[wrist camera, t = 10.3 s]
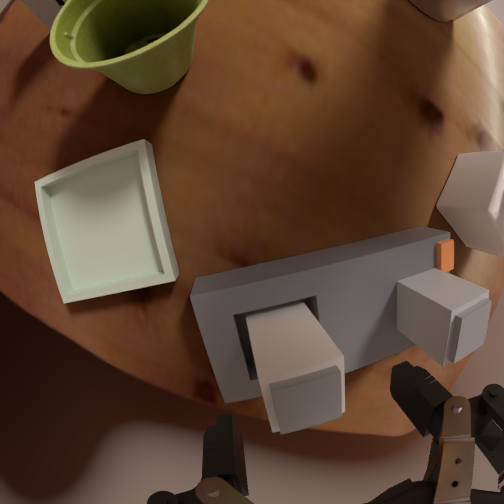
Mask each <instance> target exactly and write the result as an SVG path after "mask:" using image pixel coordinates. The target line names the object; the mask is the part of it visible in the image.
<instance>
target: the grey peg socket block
mask: <svg viewBox="0 0 504 504" xmlns="http://www.w3.org/2000/svg"><path fill="white" fill-rule="evenodd" d="M452 269H454V240H452V239H450V232H448V231H443V230H438V229H433V228H428V227H423V226H419V227H415V228H411V229H407V230H403V231H399V232H395V233H391V234H386V235H382V236H378V237H374V238H370V239H365V240H361V241H357V242H353V243H348V244H344V245H340V246H336V247H331V248H327V249H323V250H318V251H314V252H309V253H305V254H301V255H296V256H292V257H287V258H283V259H279V260H274V261H270V262H265V263H261V264H256V265H252V266H247V267H242V268H238V269H233V270H229V271H224V272H219V273H215V274H210V275H206V276H201V277H196V278H195V281H194V284H193V288H192V291H191V294H190V299H191V302H192V306H193V309H194V312H195V316H196V319H197V322H198V326H199V329H200V332H201V335H202V338H203V342H204V345H205V348H206V351H207V354H208V357H209V360H210V363H211V366H212V369H213V372H214V374H215V377H216V380H217V383H218V386H219V389H220V391H221V394H222V397H223V399H224V402H225V404H226V403H232V402H237V401H243V400H248V399H253V398H258V397H262V396H263V395H262V391H261V387H260V384H259V380H258V375H257V370H256V365H255V361H254V356H253V351H252V346H251V341H250V336H249V331H248V326H247V321H246V316H245V312H249V311H254V310H258V309H263V308H267V307H271V306H275V305H280V304H284V303H288V302H292V301H296V300H300V299H301V300H302V301H303V302H304V304H305V305H306V306H307V307H308V309H309V310H310V311H311V313H312V314H313V315H314V317H315V318H316V319H317V321H318V322H319V323H320V325H321V326H322V327H323V329H324V330H325V331H326V333H327V334H328V335H329V337H330V338H331V339H332V341H333V342H334V343H335V345H336V346H337V347H338V349H339V350H340V351H341V353H342V354H343V355H344V373H348V372H350V371H353V370H356V369H359V368H362V367H364V366H367V365H370V364H372V363H375V362H377V361H380V360H382V359H385V358H387V357H389V356H392V355H394V354H397V353H399V352H401V351H403V350H406V349H408V348H410V347H412V346H414V345H417V346H419V347H420V348H421V349H422V350H423V351H425V352H426V353H427V354H428V355H429V356H431V357H432V358H433V359H434V360H435V361H437V362H438V363H439V364H440V365H441V366H445V365H447V364H448V363H450V362H452V363H456V362H457V361H459V360H460V359H462V358H464V357H465V356H467V355H468V354H470V353H471V352H473V351H474V350H475V349H477V348H478V347H480V346H481V345H483V344H484V340H485V336H486V331H487V326H488V321H489V315H490V309H491V303H492V301H491V300H489V299H488V297H489V290H488V289H486V288H483V287H481V286H478V285H476V284H474V283H471V282H469V281H466V280H464V279H462V278H459V277H457V276H454V275H452V274H450V271H451V270H452Z"/></svg>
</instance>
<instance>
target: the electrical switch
mask: <svg viewBox="0 0 504 504" xmlns="http://www.w3.org/2000/svg"><path fill="white" fill-rule="evenodd" d="M22 1H23V2H24V3H25V4H26V5H27V6H28V7H29V9H30V10H31V11H32V12H33V13H34V14H35V15H36V16H37V17H38V18H39V19H40V20H41V21H42V22H43V23H44V24H45V25H46V26H47V27H48V28H49V29H50V30H51V29H52V26H53V23H54V20H55V19H56V17H57V15H58V13H59V12H60V10H61V9H62V7H63V6H64V5H65V3H66V2H67V1H68V0H22Z"/></svg>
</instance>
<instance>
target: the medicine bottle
mask: <svg viewBox="0 0 504 504" xmlns="http://www.w3.org/2000/svg"><path fill="white" fill-rule="evenodd" d="M436 208H437V209H438V211H439V212H440V213H441V214H442V216H443V217H444V218H445V219H446V221H447V222H448V223H449V224H450V226H451V227H452V228H453V230H454V231H455V232H456V234H457V235H458V236H459V238H460V239H461V240H462V242H463V243H464V244H465V246H466V247H469V248H472V249H476V250H479V251H483V252H486V253H490V254H493V255H496V256H500V257H503V258H504V150H501V151H486V152H474V153H463V154H458V156H457V159H456V161H455V164H454V166H453V168H452V171H451V173H450V175H449V178H448V180H447V182H446V185H445V187H444V189H443V191H442V193H441V196H440V198H439V200H438V202H437V204H436Z"/></svg>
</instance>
